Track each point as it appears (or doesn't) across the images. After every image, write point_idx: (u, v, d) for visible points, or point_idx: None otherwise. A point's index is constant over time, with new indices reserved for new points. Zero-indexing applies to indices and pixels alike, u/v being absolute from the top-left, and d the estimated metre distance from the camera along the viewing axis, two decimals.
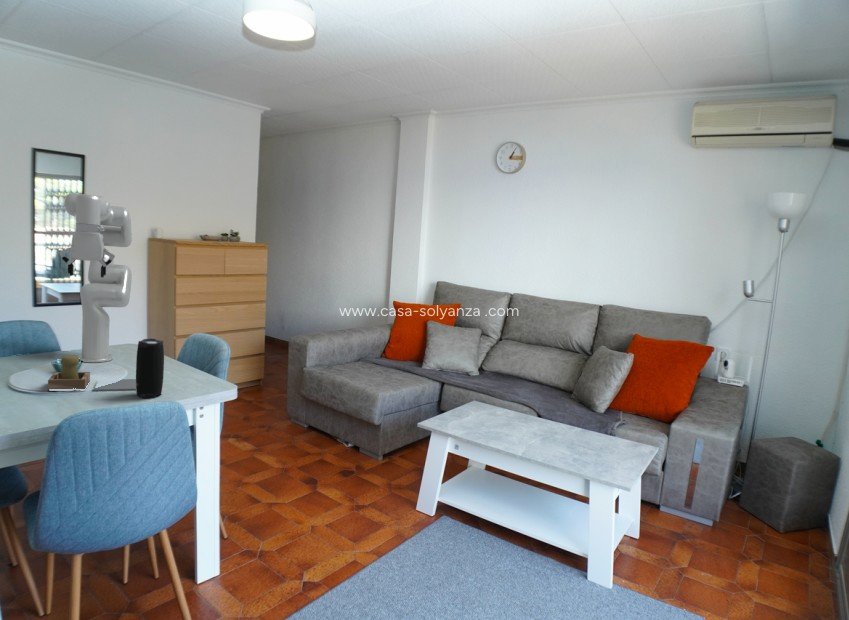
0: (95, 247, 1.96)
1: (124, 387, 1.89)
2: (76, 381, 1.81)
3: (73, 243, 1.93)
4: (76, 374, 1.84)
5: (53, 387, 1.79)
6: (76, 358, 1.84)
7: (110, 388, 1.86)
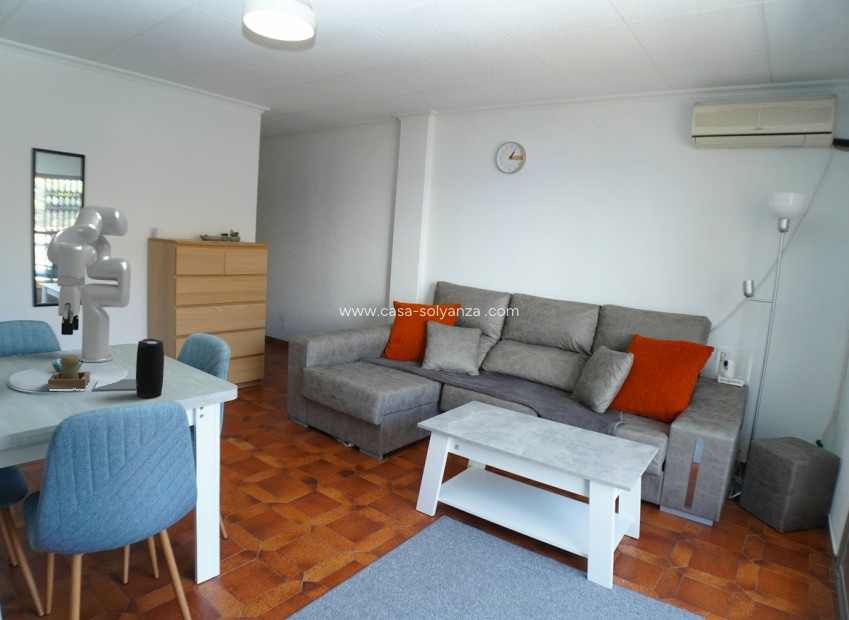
0: None
1: (124, 387, 1.89)
2: (76, 381, 1.81)
3: (75, 299, 1.78)
4: (76, 374, 1.84)
5: (53, 387, 1.79)
6: (76, 358, 1.84)
7: (110, 388, 1.86)
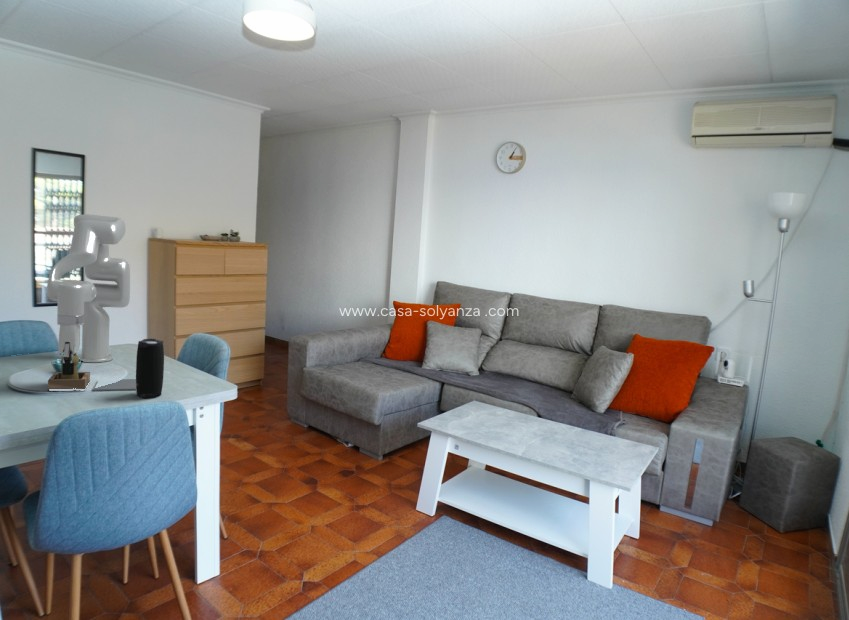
0: None
1: (124, 387, 1.89)
2: (76, 381, 1.81)
3: (75, 338, 1.80)
4: (76, 374, 1.84)
5: (53, 387, 1.79)
6: (76, 358, 1.84)
7: (110, 388, 1.86)
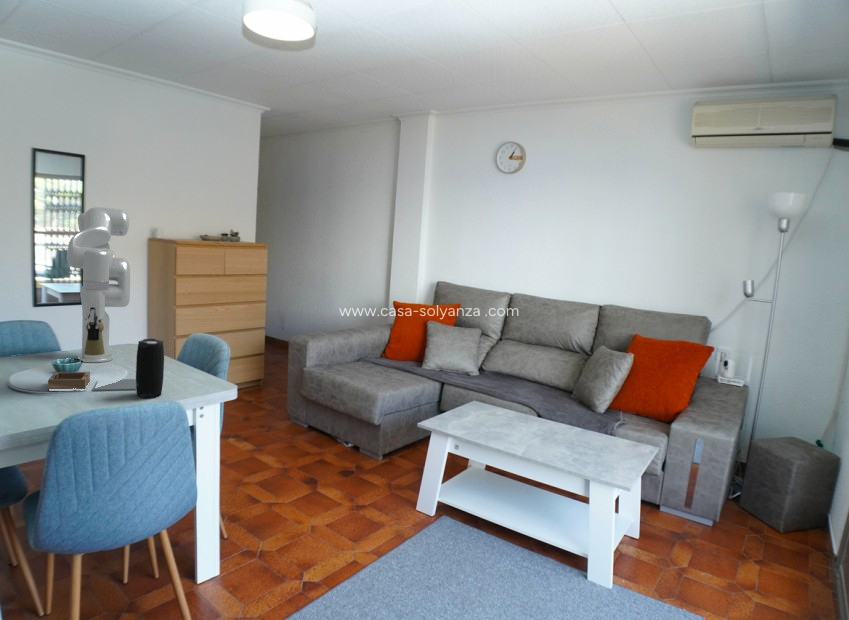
0: None
1: (124, 387, 1.89)
2: (76, 381, 1.81)
3: (100, 303, 1.82)
4: (101, 340, 1.86)
5: (53, 387, 1.79)
6: (101, 324, 1.86)
7: (110, 388, 1.86)
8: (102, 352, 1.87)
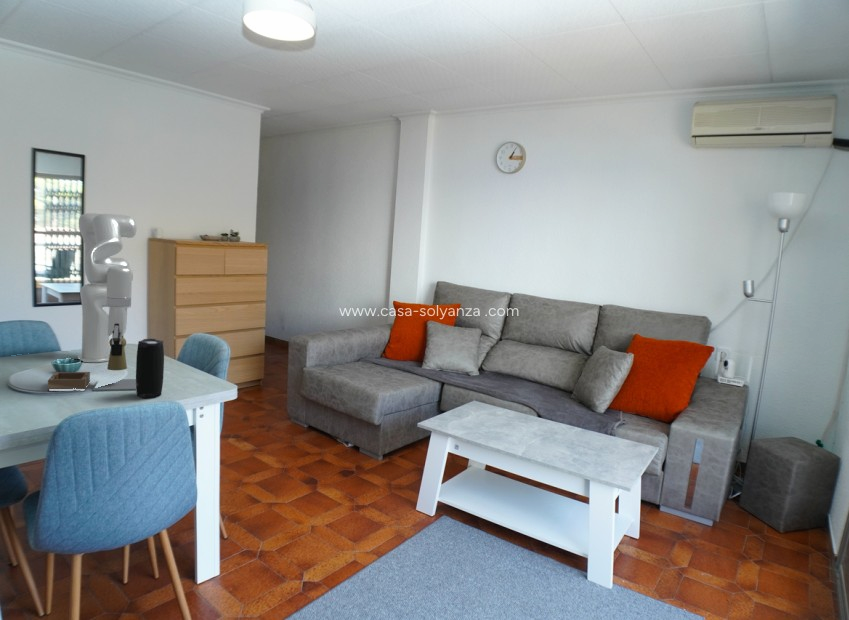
0: None
1: (124, 387, 1.89)
2: (76, 381, 1.81)
3: (124, 319, 1.86)
4: (124, 355, 1.90)
5: (53, 387, 1.79)
6: (124, 340, 1.90)
7: (110, 388, 1.86)
8: (125, 367, 1.91)
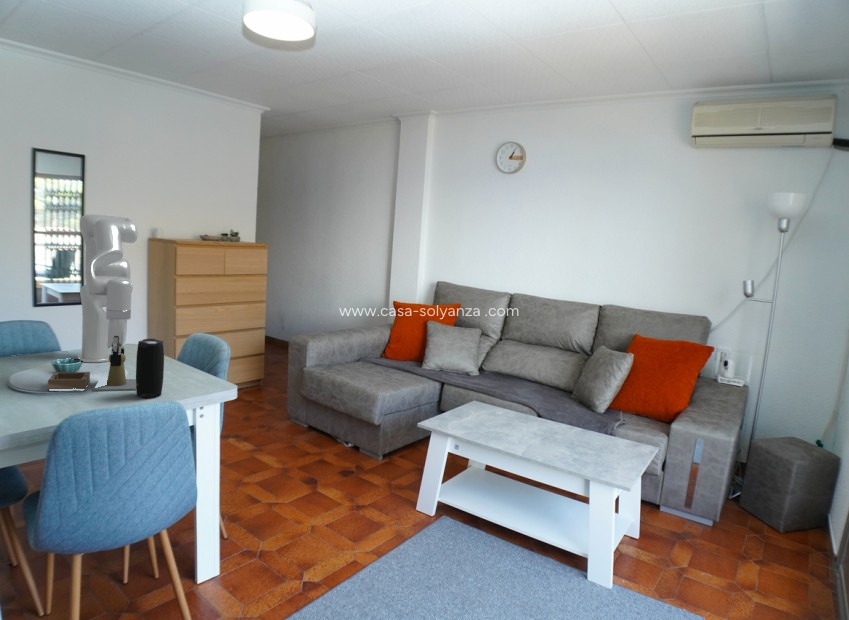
0: (126, 331, 1.93)
1: (124, 387, 1.89)
2: (76, 381, 1.81)
3: (123, 332, 1.86)
4: (123, 371, 1.91)
5: (53, 387, 1.79)
6: (123, 355, 1.90)
7: (110, 388, 1.86)
8: (124, 382, 1.92)
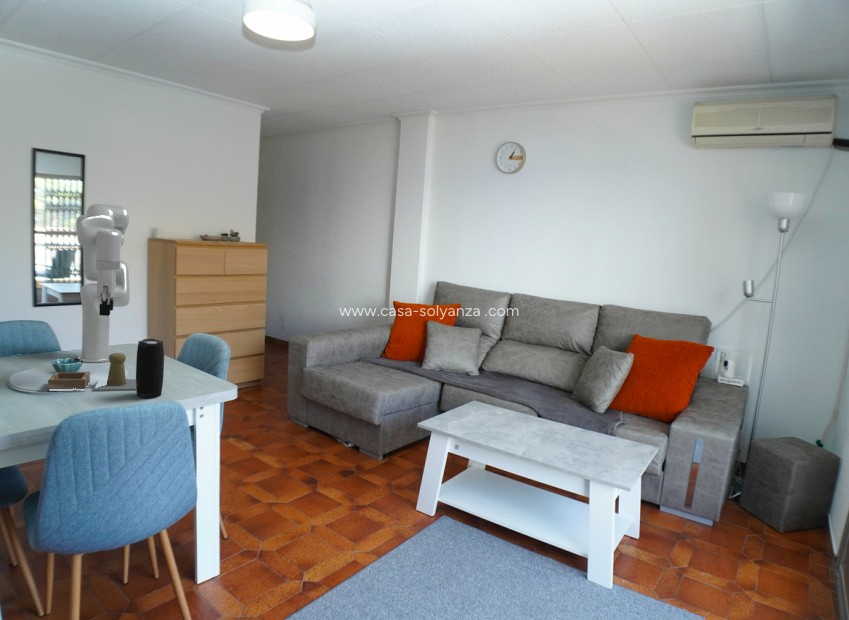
0: (115, 282, 1.96)
1: (124, 387, 1.89)
2: (76, 381, 1.81)
3: (112, 282, 1.89)
4: (123, 371, 1.91)
5: (53, 387, 1.79)
6: (123, 355, 1.91)
7: (110, 388, 1.86)
8: (124, 382, 1.92)
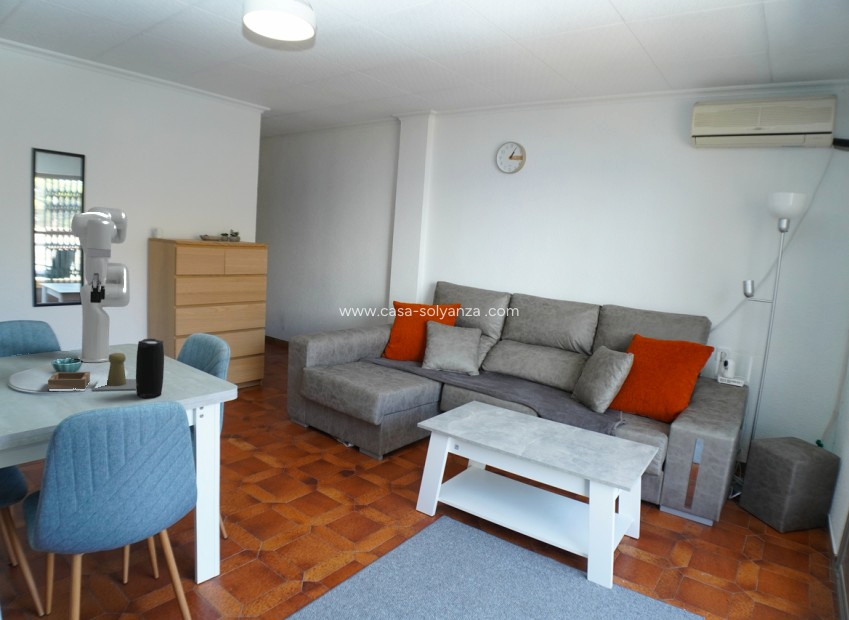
0: None
1: (124, 387, 1.89)
2: (76, 381, 1.81)
3: (103, 270, 1.93)
4: (123, 371, 1.91)
5: (53, 387, 1.79)
6: (123, 355, 1.91)
7: (110, 388, 1.86)
8: (124, 382, 1.92)
